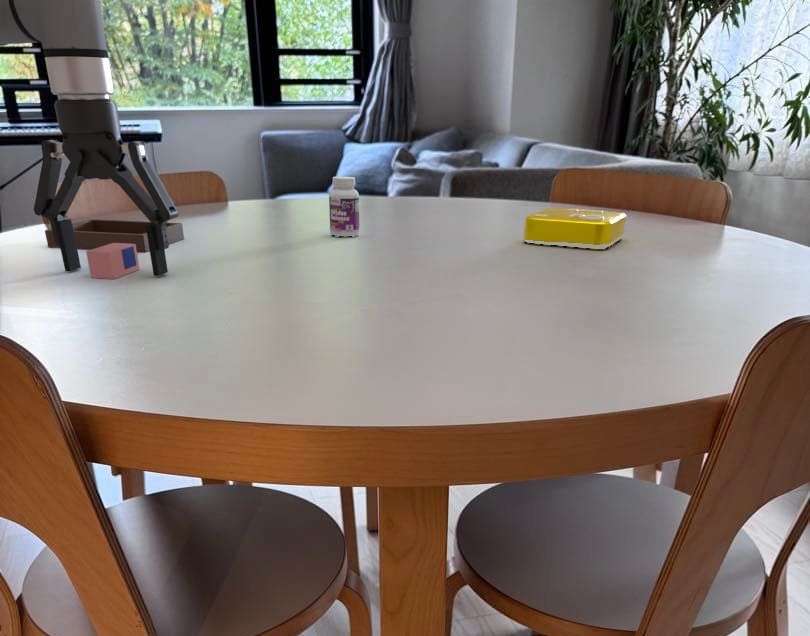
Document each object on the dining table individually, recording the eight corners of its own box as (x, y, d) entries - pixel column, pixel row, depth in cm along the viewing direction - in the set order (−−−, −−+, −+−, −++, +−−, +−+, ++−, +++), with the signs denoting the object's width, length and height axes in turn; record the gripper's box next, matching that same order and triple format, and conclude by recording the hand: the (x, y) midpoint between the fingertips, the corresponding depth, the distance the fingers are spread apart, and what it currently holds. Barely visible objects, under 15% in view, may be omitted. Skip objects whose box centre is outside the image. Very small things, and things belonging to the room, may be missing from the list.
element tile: (624, 238, 137) (629, 210, 135) (605, 251, 126) (610, 220, 123) (545, 232, 143) (548, 204, 141) (520, 243, 131) (522, 214, 129)
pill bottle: (328, 237, 135) (325, 178, 130) (332, 232, 140) (330, 175, 135) (357, 238, 135) (356, 178, 130) (361, 233, 139) (360, 176, 135)
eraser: (114, 279, 103) (109, 252, 102) (90, 277, 104) (85, 251, 102) (140, 269, 109) (135, 243, 107) (117, 268, 110) (113, 242, 108)
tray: (48, 247, 124) (44, 230, 123) (93, 234, 136) (91, 219, 134) (145, 252, 121) (143, 235, 120) (184, 238, 132) (182, 223, 131)
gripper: (188, 98, 97) (210, 270, 107) (16, 97, 101) (53, 263, 112) (160, 98, 90) (186, 281, 101) (-22, 97, 95) (21, 273, 106)
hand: (116, 272), depth 106 cm, fingers open, 13 cm apart
